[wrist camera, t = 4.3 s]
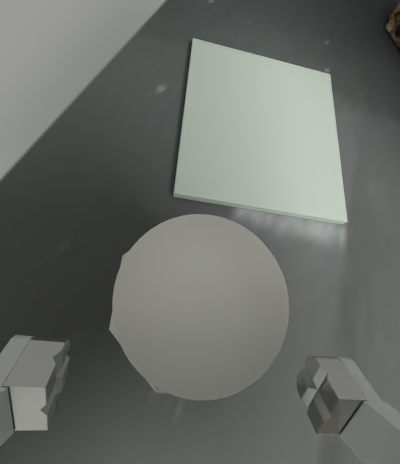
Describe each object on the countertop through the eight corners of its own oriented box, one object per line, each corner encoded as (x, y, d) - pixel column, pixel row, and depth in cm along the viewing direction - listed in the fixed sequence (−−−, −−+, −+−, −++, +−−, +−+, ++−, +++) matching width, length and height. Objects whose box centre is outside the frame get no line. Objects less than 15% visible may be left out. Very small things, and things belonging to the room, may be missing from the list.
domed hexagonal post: (222, 270, 19) (286, 226, 11) (217, 365, 17) (292, 404, 9) (134, 259, 18) (129, 202, 10) (118, 359, 16) (93, 397, 8)
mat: (326, 79, 28) (330, 74, 27) (342, 224, 22) (347, 221, 22) (191, 44, 25) (193, 37, 25) (173, 196, 20) (173, 193, 19)
